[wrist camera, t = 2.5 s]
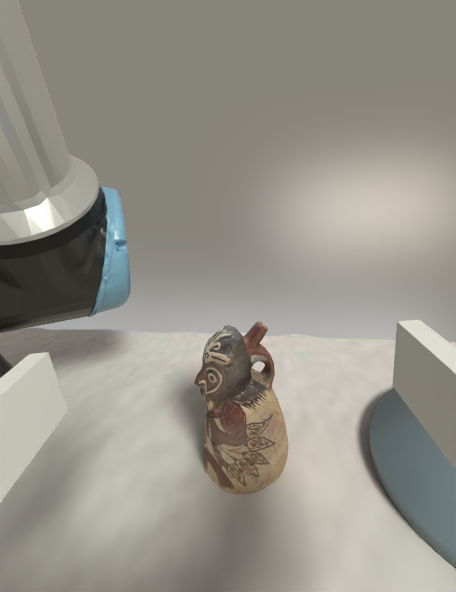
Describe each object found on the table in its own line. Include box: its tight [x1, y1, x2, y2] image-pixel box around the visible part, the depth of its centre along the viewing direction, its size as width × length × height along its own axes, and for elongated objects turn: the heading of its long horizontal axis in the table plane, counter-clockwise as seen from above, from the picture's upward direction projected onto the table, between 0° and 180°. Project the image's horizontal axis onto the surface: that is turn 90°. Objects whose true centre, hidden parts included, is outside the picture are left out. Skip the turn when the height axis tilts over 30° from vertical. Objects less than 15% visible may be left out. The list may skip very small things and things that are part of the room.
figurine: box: [195, 321, 288, 494], centre depth 25 cm, size 7×7×12 cm
